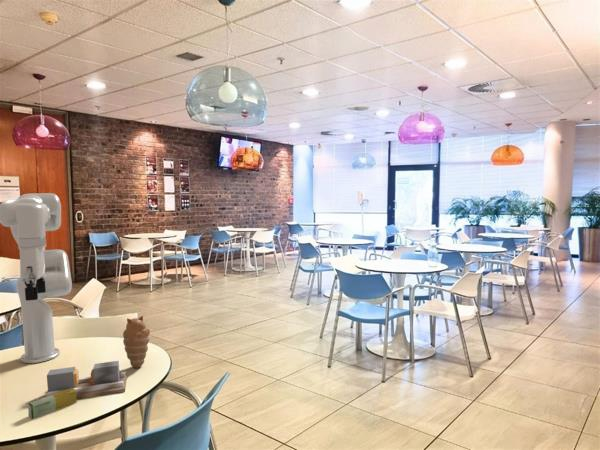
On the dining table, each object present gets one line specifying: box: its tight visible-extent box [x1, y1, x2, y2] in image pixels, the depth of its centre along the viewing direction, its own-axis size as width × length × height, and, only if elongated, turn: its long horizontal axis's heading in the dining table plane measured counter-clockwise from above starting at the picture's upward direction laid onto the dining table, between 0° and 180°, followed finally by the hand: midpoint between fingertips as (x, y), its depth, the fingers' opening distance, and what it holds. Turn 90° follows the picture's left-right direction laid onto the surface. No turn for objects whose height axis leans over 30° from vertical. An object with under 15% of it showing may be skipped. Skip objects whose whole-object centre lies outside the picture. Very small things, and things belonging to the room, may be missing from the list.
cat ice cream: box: [122, 315, 151, 369], centre depth 148 cm, size 9×8×18 cm
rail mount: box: [44, 360, 128, 400], centre depth 133 cm, size 22×12×7 cm, turn 108°
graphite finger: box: [46, 366, 80, 392], centre depth 131 cm, size 4×8×6 cm, turn 109°
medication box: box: [27, 388, 78, 420], centre depth 121 cm, size 12×3×4 cm, turn 139°
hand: (36, 296), depth 137 cm, fingers open, 9 cm apart
